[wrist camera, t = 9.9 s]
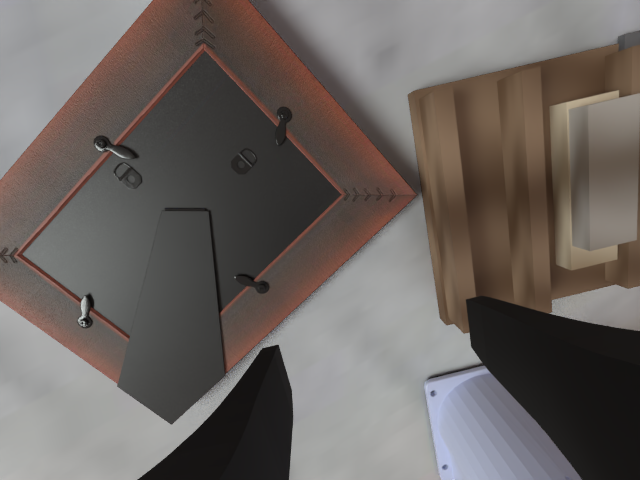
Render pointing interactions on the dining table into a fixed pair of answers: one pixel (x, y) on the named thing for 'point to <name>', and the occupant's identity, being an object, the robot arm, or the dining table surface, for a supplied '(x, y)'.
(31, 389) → the dining table surface
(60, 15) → the dining table surface
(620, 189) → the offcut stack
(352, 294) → the dining table surface
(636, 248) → the walnut rack
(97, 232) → the picture frame
